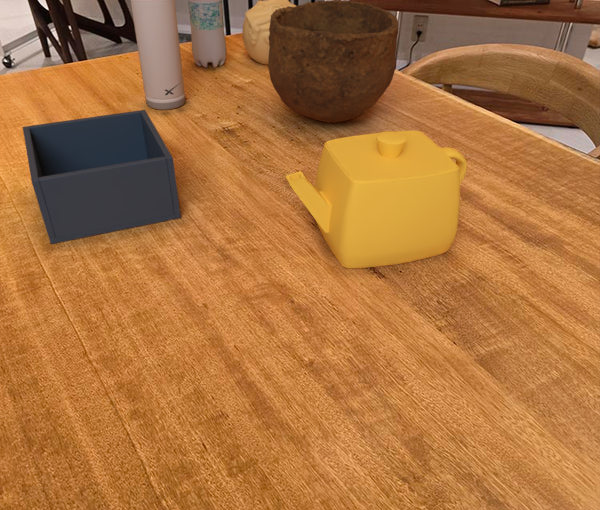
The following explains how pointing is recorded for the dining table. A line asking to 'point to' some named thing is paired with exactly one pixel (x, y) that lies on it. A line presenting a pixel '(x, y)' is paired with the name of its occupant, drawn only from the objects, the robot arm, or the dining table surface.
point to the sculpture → (260, 28)
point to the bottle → (207, 32)
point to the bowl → (332, 57)
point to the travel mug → (159, 53)
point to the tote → (101, 175)
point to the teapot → (384, 197)
